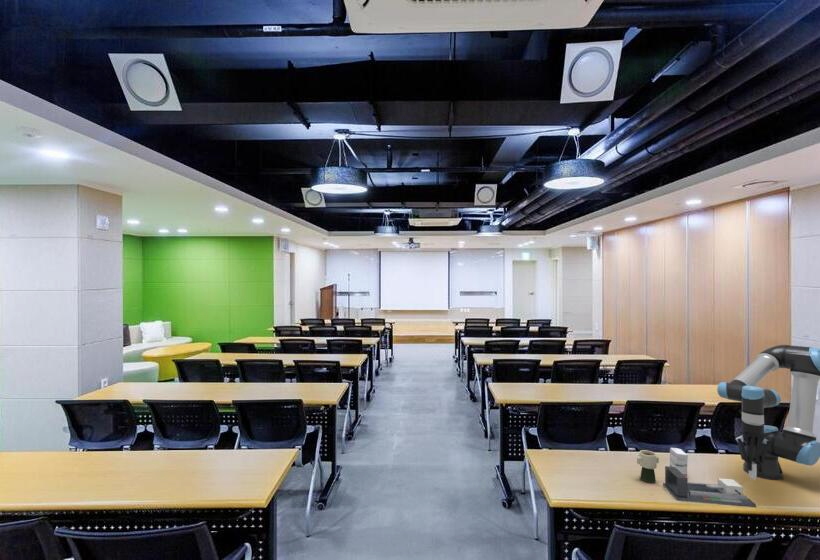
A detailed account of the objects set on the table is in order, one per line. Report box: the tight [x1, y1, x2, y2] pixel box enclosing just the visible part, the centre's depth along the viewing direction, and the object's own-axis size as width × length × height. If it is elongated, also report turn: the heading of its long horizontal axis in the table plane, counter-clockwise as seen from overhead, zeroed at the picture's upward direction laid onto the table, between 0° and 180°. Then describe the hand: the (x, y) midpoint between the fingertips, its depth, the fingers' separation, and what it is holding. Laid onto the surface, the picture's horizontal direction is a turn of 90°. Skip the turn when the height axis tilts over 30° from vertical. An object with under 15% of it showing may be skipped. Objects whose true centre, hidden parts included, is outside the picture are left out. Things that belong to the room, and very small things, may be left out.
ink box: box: [669, 447, 689, 478], centre depth 204 cm, size 9×5×12 cm, turn 168°
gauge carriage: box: [706, 478, 744, 495], centre depth 181 cm, size 12×11×5 cm
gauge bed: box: [662, 465, 757, 508], centre depth 184 cm, size 30×14×9 cm, turn 81°
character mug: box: [636, 449, 660, 483], centre depth 198 cm, size 11×7×13 cm, turn 97°
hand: (752, 478), depth 181 cm, fingers closed
